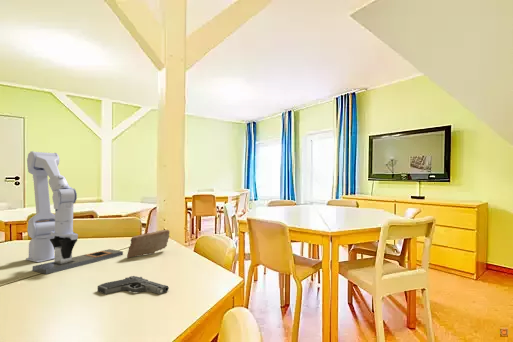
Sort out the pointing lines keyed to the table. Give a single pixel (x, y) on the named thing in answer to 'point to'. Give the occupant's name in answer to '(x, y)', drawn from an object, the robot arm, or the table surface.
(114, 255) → the rail
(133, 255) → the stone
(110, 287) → the handgun
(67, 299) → the table surface
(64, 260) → the grey rectangular block
